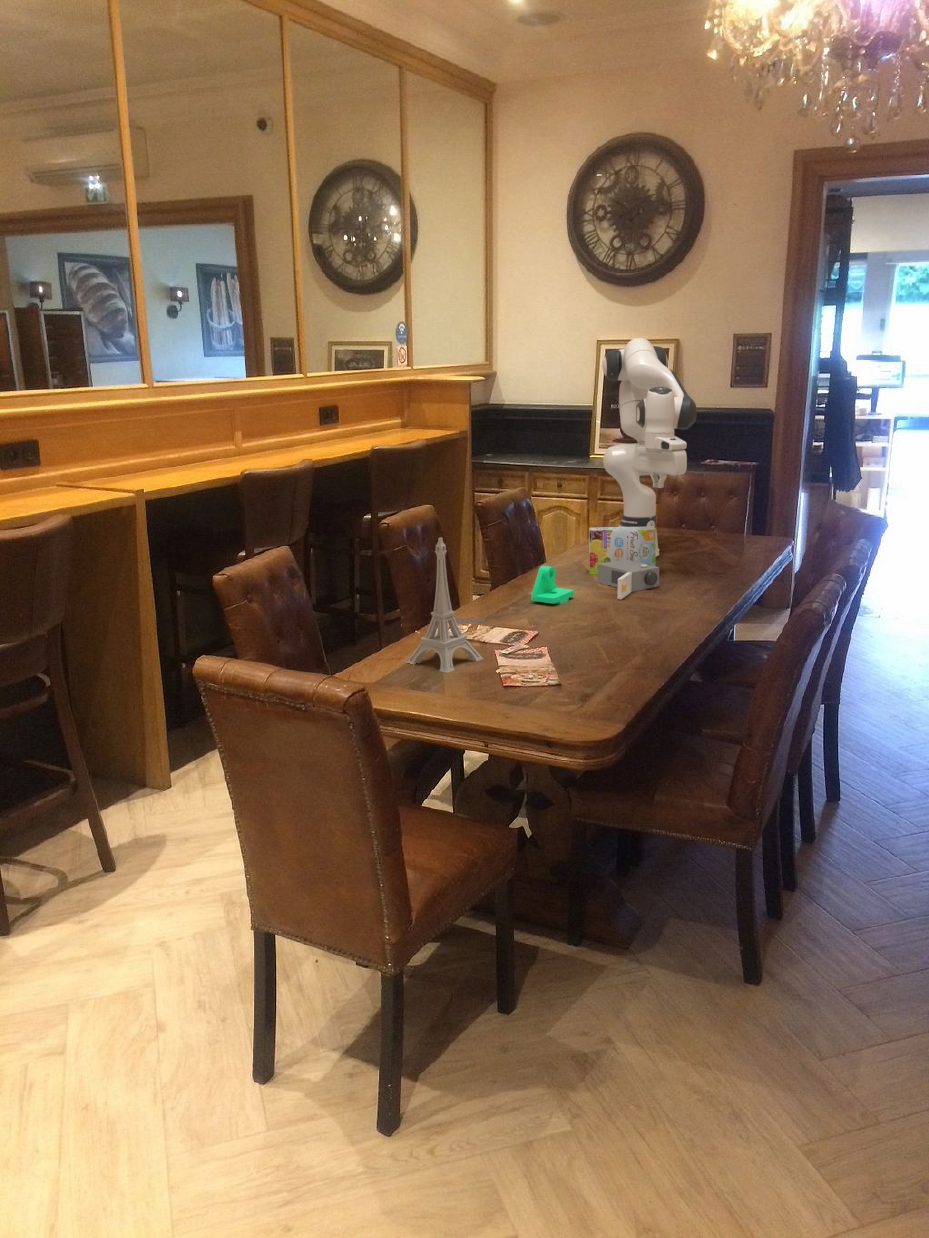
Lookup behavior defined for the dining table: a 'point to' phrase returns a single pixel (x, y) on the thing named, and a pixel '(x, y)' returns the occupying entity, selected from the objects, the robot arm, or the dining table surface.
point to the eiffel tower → (443, 623)
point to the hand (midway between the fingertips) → (658, 487)
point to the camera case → (641, 573)
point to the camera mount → (549, 588)
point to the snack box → (621, 545)
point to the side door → (624, 585)
